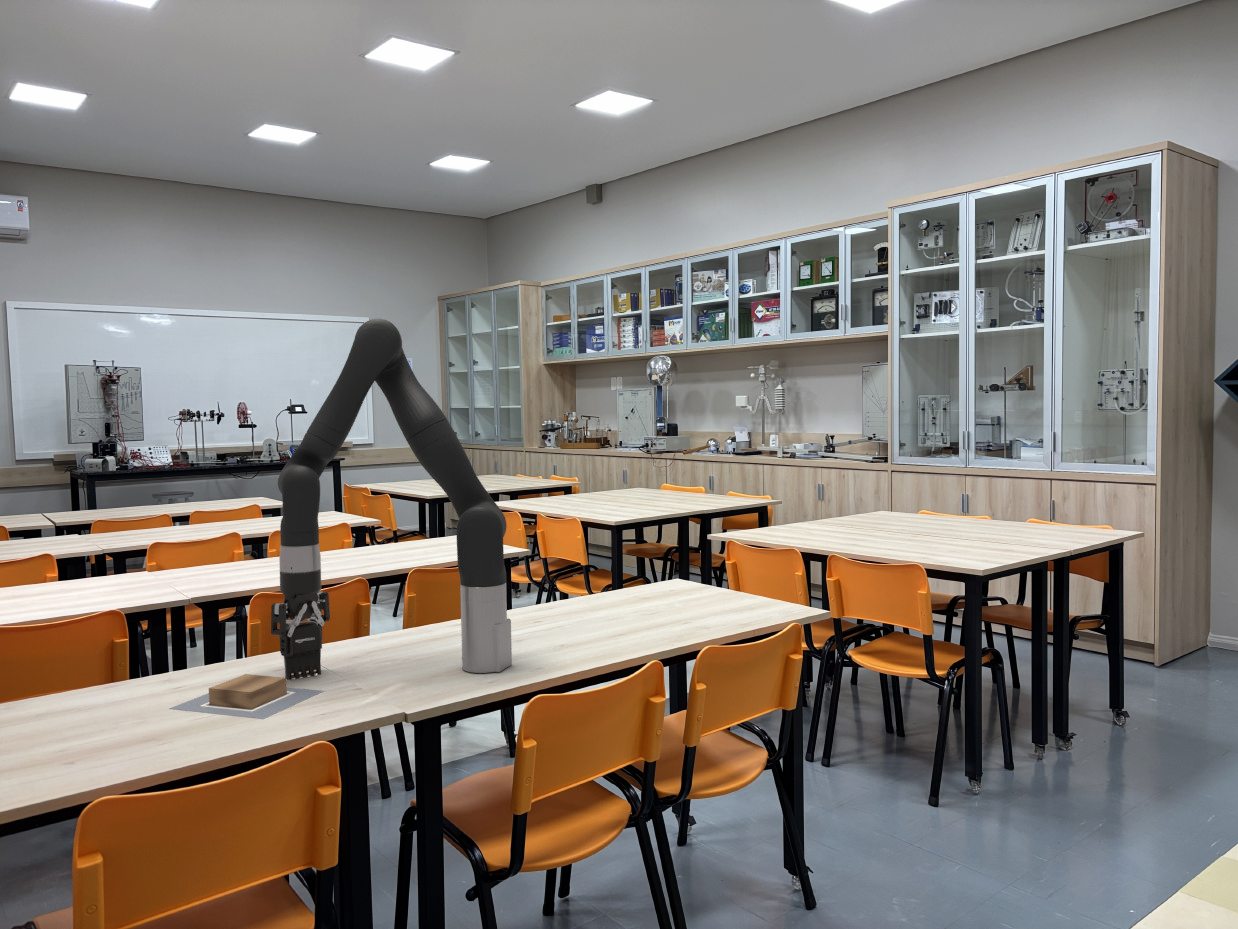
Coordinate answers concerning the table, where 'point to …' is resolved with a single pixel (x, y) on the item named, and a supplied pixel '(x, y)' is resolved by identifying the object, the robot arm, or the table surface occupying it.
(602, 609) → the table surface
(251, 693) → the base block
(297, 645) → the battery charger
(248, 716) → the board
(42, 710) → the table surface
